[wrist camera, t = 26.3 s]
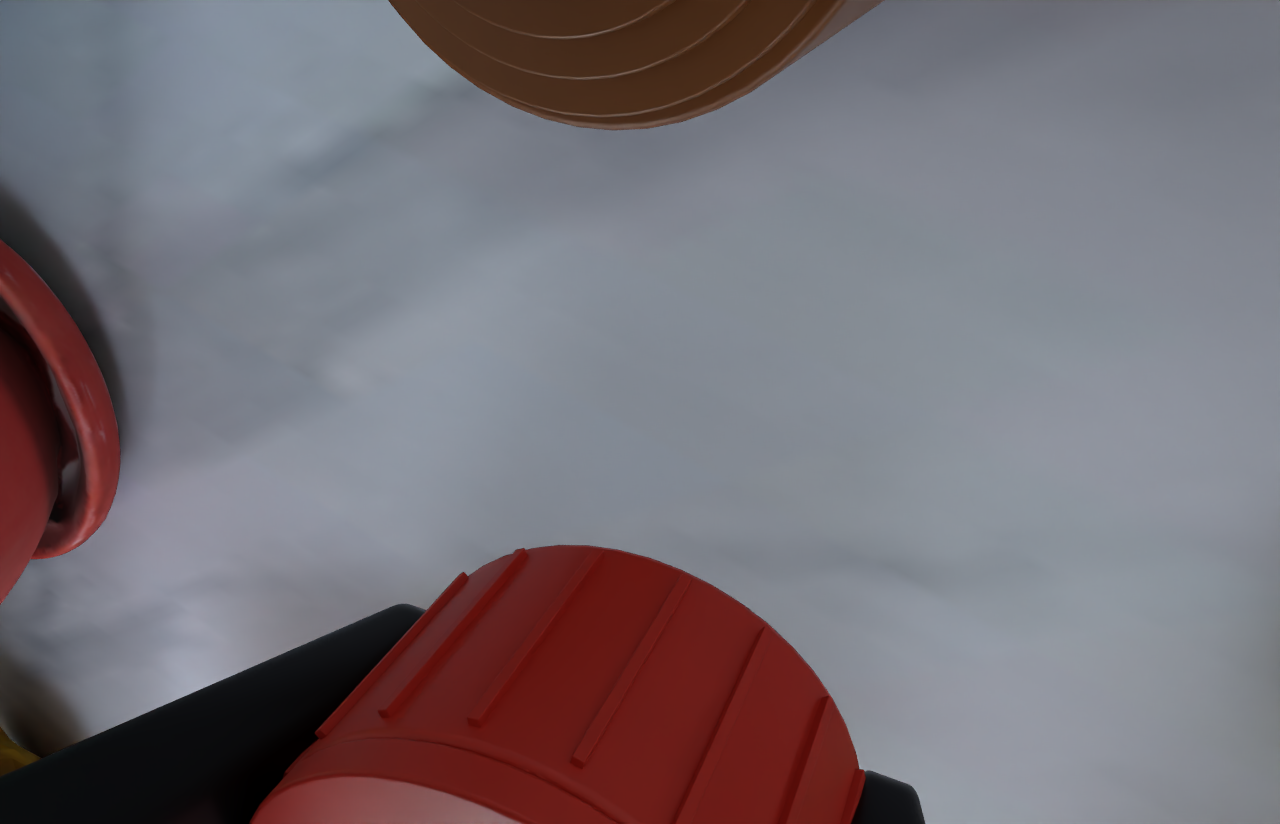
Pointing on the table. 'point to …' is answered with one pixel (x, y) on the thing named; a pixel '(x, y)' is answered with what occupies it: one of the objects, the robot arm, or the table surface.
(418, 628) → the cap
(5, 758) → the decorative skull
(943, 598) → the table surface
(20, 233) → the table surface
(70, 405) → the flower pot
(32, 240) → the table surface
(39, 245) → the table surface
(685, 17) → the bottle
